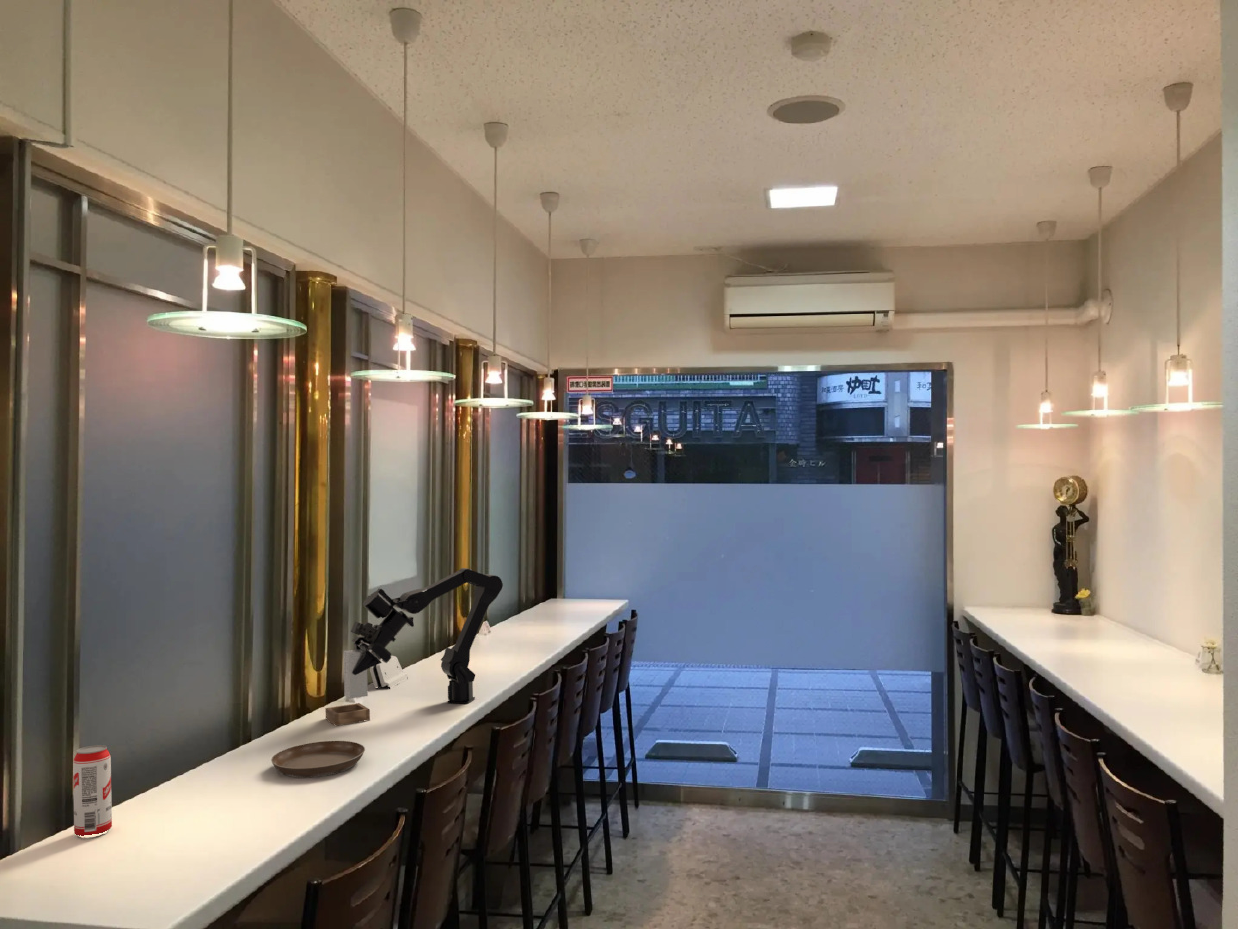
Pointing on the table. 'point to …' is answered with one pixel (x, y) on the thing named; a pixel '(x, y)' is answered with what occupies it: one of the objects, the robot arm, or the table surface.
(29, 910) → the table surface
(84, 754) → the beer can
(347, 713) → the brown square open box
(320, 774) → the plant saucer
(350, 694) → the grey block
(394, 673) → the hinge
